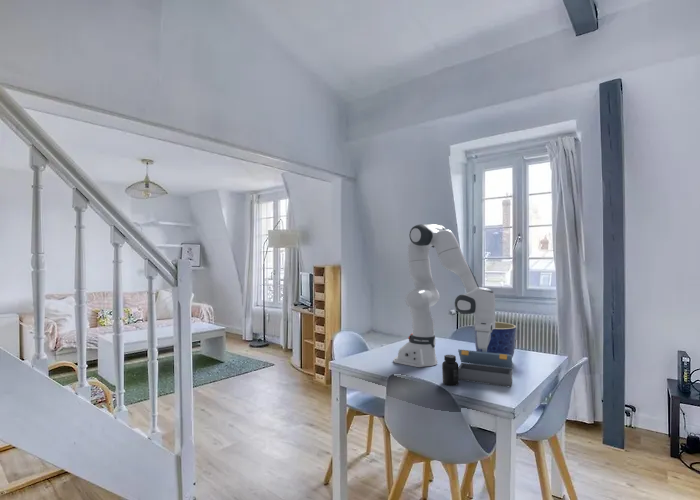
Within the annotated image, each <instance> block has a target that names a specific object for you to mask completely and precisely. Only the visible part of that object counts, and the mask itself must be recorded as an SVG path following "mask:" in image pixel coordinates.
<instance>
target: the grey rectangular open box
mask: <svg viewBox="0 0 700 500" xmlns="http://www.w3.org/2000/svg"><path fill="white" fill-rule="evenodd" d="M458 372H459V381H464V382H465V381H466V382H470V383H471V382H472V383H480V384H487V385H493V386H494V385H495V386H500V385H501V386H502V387H507V386H509V387H508V388H511V387H512V383H513V368H506V367H497V366H488V365H480V364H471V363H463V362H461V363H460V365H458Z"/></svg>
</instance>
